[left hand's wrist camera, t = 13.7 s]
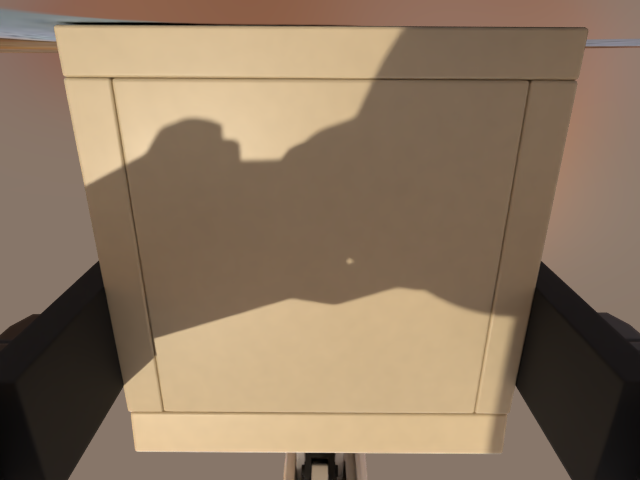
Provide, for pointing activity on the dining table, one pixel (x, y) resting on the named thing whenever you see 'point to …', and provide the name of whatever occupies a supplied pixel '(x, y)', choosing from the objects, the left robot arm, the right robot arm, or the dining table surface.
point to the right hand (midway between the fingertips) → (320, 344)
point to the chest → (320, 208)
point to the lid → (319, 432)
